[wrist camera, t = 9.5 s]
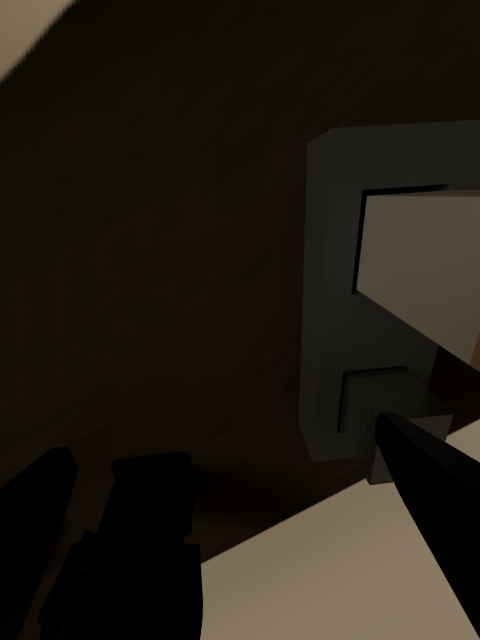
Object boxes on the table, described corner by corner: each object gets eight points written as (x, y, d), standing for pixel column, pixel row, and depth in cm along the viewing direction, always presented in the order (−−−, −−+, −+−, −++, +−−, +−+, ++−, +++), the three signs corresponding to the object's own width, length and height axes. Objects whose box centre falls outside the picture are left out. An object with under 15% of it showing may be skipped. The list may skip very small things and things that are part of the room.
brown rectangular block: (356, 289, 16) (497, 383, 8) (367, 196, 14) (569, 197, 6) (422, 283, 17) (624, 370, 8) (442, 190, 15) (736, 185, 6)
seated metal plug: (323, 397, 24) (369, 484, 17) (327, 347, 22) (381, 422, 15) (368, 393, 24) (433, 477, 17) (376, 342, 22) (453, 414, 15)
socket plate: (298, 424, 26) (312, 461, 22) (307, 142, 17) (333, 128, 13) (383, 414, 26) (411, 450, 22) (437, 134, 17) (498, 118, 13)
